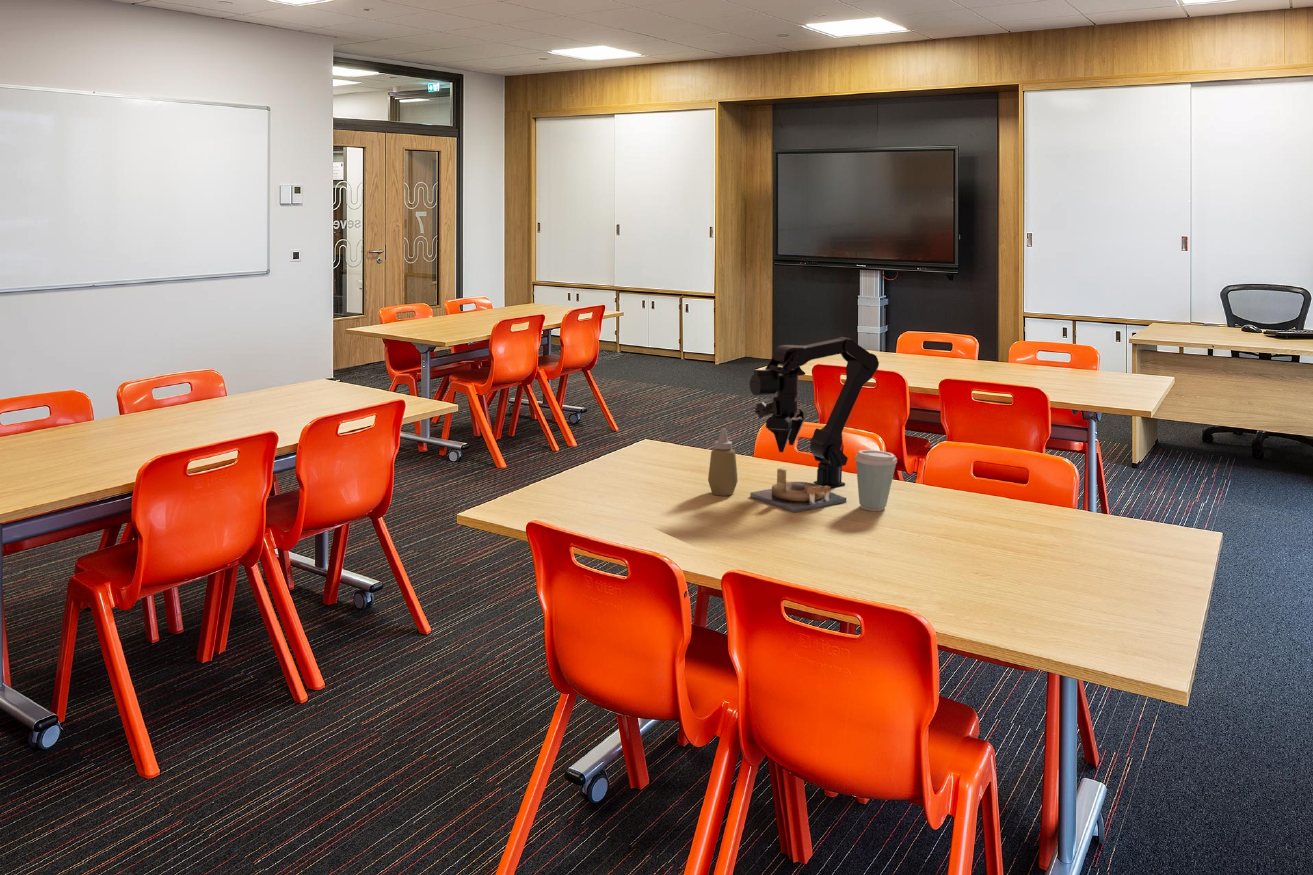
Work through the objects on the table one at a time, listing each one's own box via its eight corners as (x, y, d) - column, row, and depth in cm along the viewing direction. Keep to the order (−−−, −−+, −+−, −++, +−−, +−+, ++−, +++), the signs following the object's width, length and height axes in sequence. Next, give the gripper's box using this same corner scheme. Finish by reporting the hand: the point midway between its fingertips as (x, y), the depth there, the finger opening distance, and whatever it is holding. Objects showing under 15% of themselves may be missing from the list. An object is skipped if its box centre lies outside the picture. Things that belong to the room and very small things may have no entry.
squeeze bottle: (737, 489, 282) (739, 426, 279) (737, 497, 275) (738, 432, 271) (708, 489, 283) (709, 425, 279) (707, 496, 275) (707, 431, 272)
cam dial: (799, 484, 282) (800, 457, 281) (835, 495, 271) (836, 468, 269) (760, 492, 274) (760, 464, 273) (795, 504, 263) (796, 475, 262)
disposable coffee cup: (867, 500, 273) (870, 445, 269) (902, 508, 265) (906, 451, 262) (844, 507, 265) (846, 451, 262) (880, 516, 258) (883, 458, 255)
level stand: (800, 487, 285) (801, 470, 284) (846, 502, 271) (847, 483, 270) (750, 496, 275) (750, 478, 274) (794, 512, 261) (795, 493, 260)
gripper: (769, 385, 288) (768, 439, 291) (747, 396, 271) (747, 453, 275) (807, 387, 283) (806, 442, 287) (787, 398, 267) (787, 457, 270)
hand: (786, 448), depth 280 cm, fingers open, 9 cm apart
